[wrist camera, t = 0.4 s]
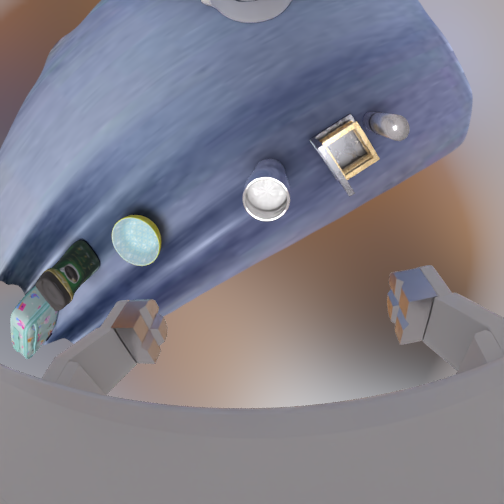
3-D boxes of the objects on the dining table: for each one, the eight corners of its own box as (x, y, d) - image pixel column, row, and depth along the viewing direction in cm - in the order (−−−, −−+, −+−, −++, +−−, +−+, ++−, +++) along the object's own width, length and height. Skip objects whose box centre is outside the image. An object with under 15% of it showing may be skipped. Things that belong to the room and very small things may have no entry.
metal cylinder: (362, 110, 43) (385, 113, 33) (382, 112, 43) (409, 116, 32) (363, 131, 45) (385, 140, 35) (382, 132, 45) (409, 142, 34)
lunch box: (56, 331, 85) (30, 370, 67) (37, 315, 83) (9, 352, 64) (64, 292, 74) (27, 336, 55) (41, 273, 71) (3, 314, 53)
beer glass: (295, 169, 50) (301, 193, 37) (275, 198, 54) (273, 231, 41) (263, 149, 49) (258, 165, 36) (244, 179, 52) (231, 206, 39)
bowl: (177, 246, 61) (167, 261, 56) (136, 255, 63) (125, 269, 58) (158, 200, 56) (146, 211, 51) (117, 213, 58) (103, 224, 53)
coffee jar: (69, 247, 64) (28, 286, 48) (83, 235, 62) (40, 275, 46) (89, 274, 68) (53, 317, 52) (105, 264, 66) (67, 309, 50)
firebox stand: (349, 114, 44) (367, 116, 35) (374, 153, 47) (396, 166, 38) (309, 139, 47) (317, 148, 38) (335, 178, 50) (349, 196, 41)
